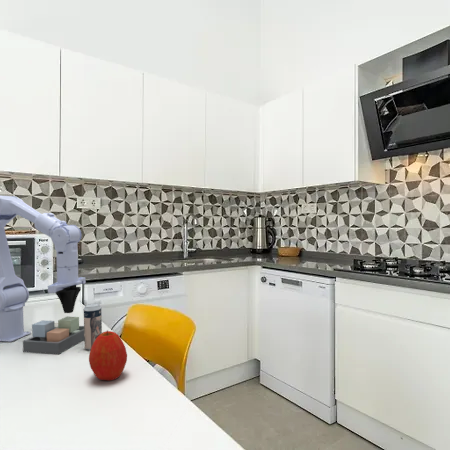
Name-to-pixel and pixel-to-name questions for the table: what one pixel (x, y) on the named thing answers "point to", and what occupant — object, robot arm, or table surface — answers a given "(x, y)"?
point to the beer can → (92, 324)
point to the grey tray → (53, 343)
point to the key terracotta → (57, 334)
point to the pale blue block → (42, 328)
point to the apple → (108, 356)
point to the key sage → (69, 323)
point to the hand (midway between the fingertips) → (68, 312)
